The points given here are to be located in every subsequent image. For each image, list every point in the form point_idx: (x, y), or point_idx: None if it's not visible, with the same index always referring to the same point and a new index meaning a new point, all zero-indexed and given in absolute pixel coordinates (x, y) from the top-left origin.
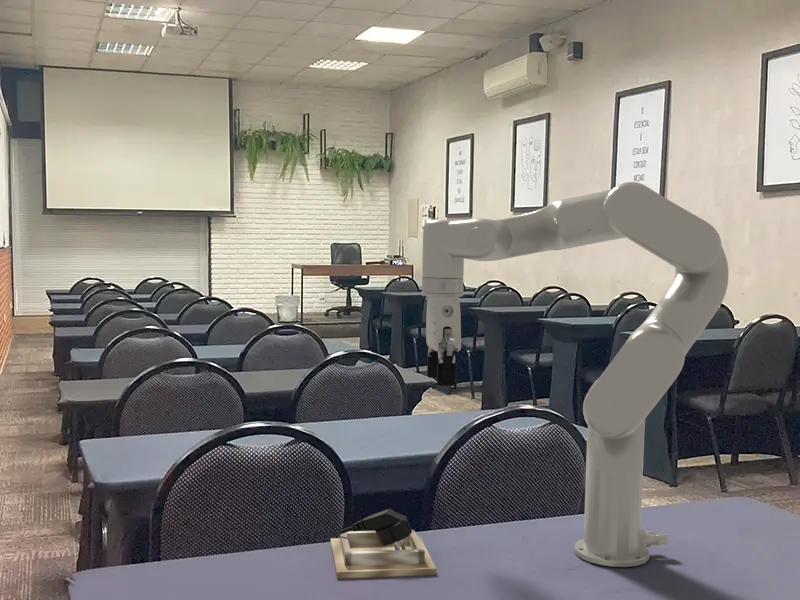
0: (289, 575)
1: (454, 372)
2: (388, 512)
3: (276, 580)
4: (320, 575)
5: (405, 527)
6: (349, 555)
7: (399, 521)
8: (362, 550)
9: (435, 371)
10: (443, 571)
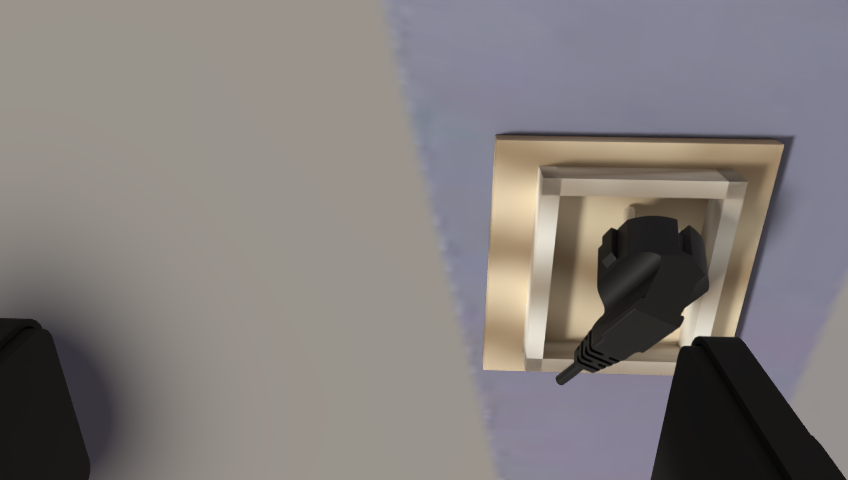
0: None
1: (820, 463)
2: (668, 315)
3: None
4: None
5: (700, 251)
6: None
7: (703, 279)
8: (590, 308)
9: (33, 463)
10: (756, 113)
